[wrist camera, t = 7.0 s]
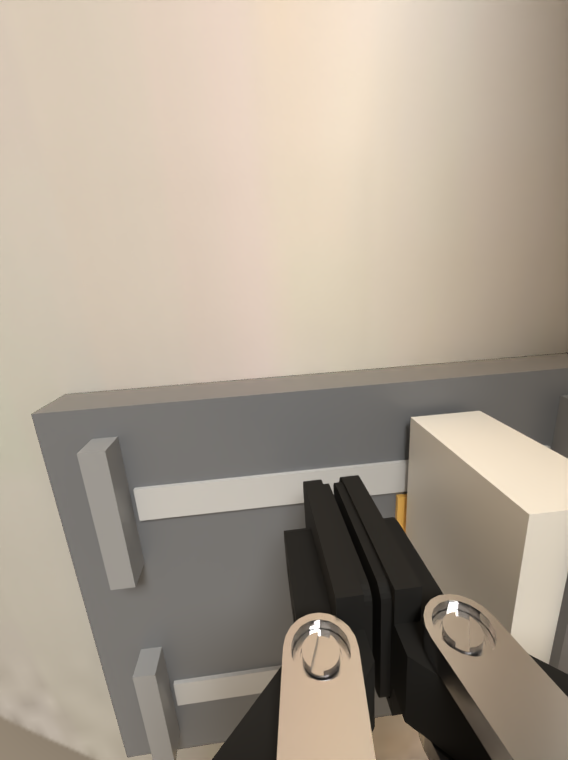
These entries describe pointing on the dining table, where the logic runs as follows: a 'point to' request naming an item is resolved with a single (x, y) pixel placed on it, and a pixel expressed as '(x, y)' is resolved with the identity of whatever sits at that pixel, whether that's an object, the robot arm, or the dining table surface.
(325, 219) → the dining table surface
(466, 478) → the block
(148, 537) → the console
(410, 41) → the dining table surface
